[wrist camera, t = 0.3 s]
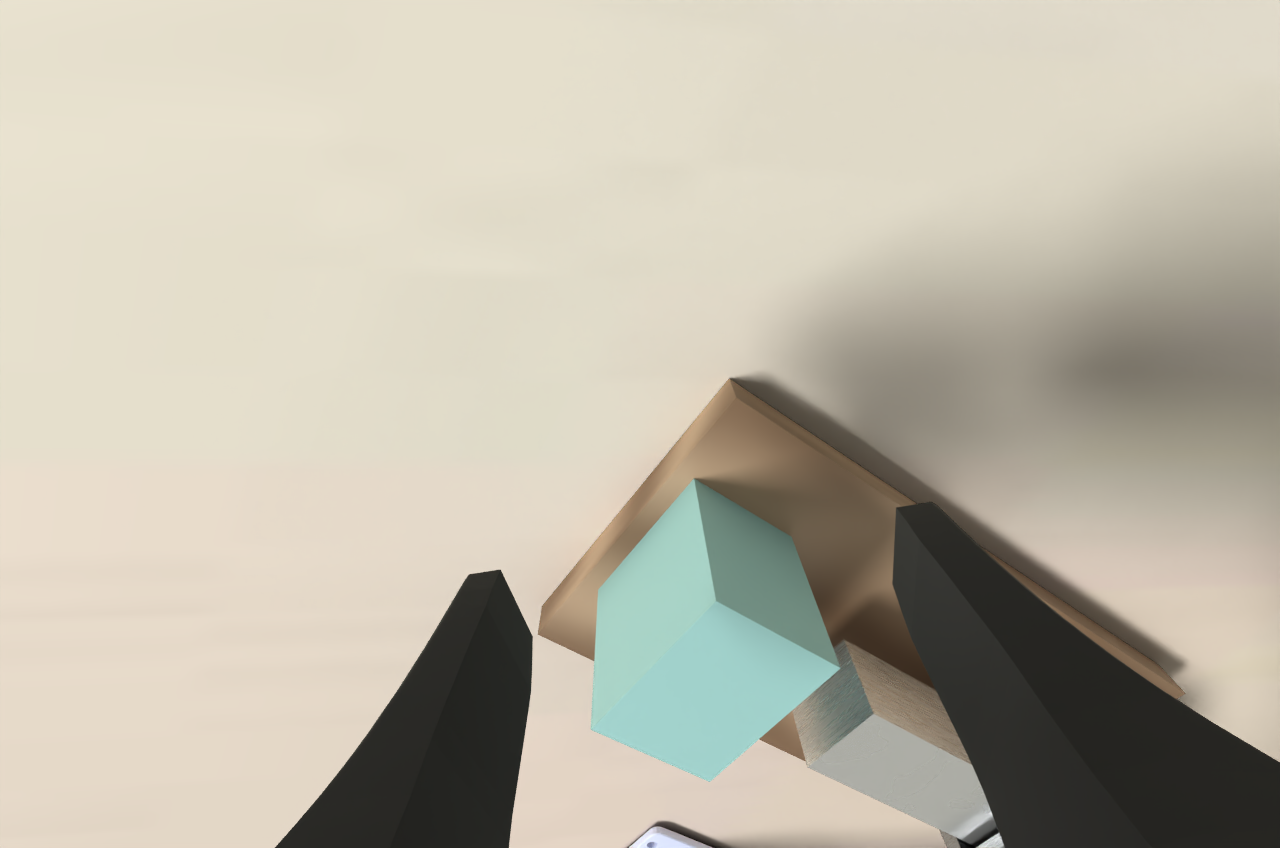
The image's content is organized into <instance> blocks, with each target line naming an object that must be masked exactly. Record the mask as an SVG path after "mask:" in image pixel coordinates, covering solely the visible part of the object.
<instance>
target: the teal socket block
mask: <svg viewBox="0 0 1280 848" xmlns="http://www.w3.org/2000/svg"><path fill="white" fill-rule="evenodd" d="M839 669H840V665H839V662H838V660H837V657H836V654H835V652H834V649H833V646H832V644H831V641H830V638H829V636H828V633H827V630H826V628H825V625H824V622H823V620H822V617H821V614H820V612H819V609H818V606H817V604H816V601H815V598H814V595H813V593H812V590H811V587H810V585H809V582H808V579H807V577H806V574H805V571H804V569H803V566H802V563H801V561H800V558H799V555H798V553H797V550H796V547H795V545H794V542H793V539H792V537H791V536H789V535H788V534H786V533H784V532H783V531H781V530H779V529H778V528H776V527H774V526H773V525H771V524H769V523H768V522H766V521H764V520H763V519H761V518H759V517H758V516H756V515H754V514H753V513H751V512H749V511H748V510H746V509H744V508H743V507H741V506H739V505H738V504H736V503H734V502H733V501H731V500H729V499H728V498H726V497H724V496H723V495H721V494H719V493H718V492H716V491H714V490H713V489H711V488H709V487H708V486H706V485H704V484H703V483H701V482H699V481H698V480H696V479H693V480H692V481H691V482H690V484H689V485H688V486H687V487H686V488H685V489H684V491H683V492H682V493H681V494H680V495H679V496H678V497H677V499H676V500H675V501H674V502H673V503H672V504H671V506H670V507H669V508H668V509H667V510H666V511H665V513H664V514H663V515H662V516H661V517H660V518H659V520H658V521H657V522H656V523H655V524H654V525H653V527H652V528H651V529H650V530H649V531H648V532H647V534H646V535H645V536H644V537H643V538H642V539H641V541H640V542H639V543H638V544H637V545H636V546H635V548H634V549H633V550H632V551H631V552H630V553H629V555H628V556H627V557H626V558H625V559H624V560H623V562H622V563H621V564H620V565H619V566H618V567H617V568H616V570H615V571H614V572H613V573H612V574H611V575H610V577H609V578H608V579H607V580H606V581H605V582H604V584H603V585H602V586H601V587H600V588H599V589H598V601H597V621H596V640H595V659H594V679H593V698H592V717H591V730H593V731H595V732H597V733H599V734H602V735H604V736H606V737H609V738H611V739H613V740H615V741H618V742H620V743H622V744H625V745H627V746H629V747H631V748H634V749H636V750H638V751H641V752H643V753H645V754H647V755H650V756H652V757H654V758H657V759H659V760H661V761H663V762H666V763H668V764H670V765H672V766H675V767H677V768H679V769H682V770H684V771H686V772H688V773H691V774H693V775H695V776H698V777H700V778H702V779H704V780H707V781H709V782H710V781H711V780H712V779H714V778H715V777H716V776H717V775H718V774H719V773H720V772H722V771H723V770H724V769H725V768H726V767H727V766H729V765H730V764H731V763H732V762H733V761H734V760H735V759H737V758H738V757H739V756H740V755H741V754H742V753H744V752H745V751H746V750H747V749H748V748H749V747H750V746H752V745H753V744H754V743H755V742H756V741H757V740H759V739H760V738H761V737H762V736H763V735H764V734H765V733H767V732H768V731H769V730H770V729H771V728H772V727H774V726H775V725H776V724H777V723H778V722H779V721H780V720H782V719H783V718H784V717H785V716H786V715H787V714H789V713H790V712H791V711H792V710H793V709H794V708H795V707H797V706H798V705H799V704H800V703H801V702H802V701H804V700H805V699H806V698H807V697H808V696H809V695H810V694H812V693H813V692H814V691H815V690H816V689H817V688H819V687H820V686H821V685H822V684H823V683H824V682H825V681H827V680H828V679H829V678H830V677H831V676H832V675H834V674H835V673H836V672H837V671H838V670H839Z"/></svg>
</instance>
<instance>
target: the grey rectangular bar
mask: <svg viewBox="0 0 1280 848" xmlns="http://www.w3.org/2000/svg"><path fill="white" fill-rule="evenodd" d="M833 649H834V652H835V654H836V657H837V660H838V662H839V665H840V669H839V670H838V671H837V672H836V673H835V674H834V675H832V676H831V677H830V678H829V679H828V680H827V681H825V682H824V683H823V684H822V685H821V686H820V687H819V688H817V689H816V690H815V691H814V692H813V693H812V694H810V695H809V696H808V697H807V698H806V699H805V700H804V701H802V702H801V703H800V704H799V705H798V706H797V707H795V708H794V709H793V710H792V712H793V715H794V719H795V723H796V726H797V730H798V734H799V738H800V741H801V745H802V749H803V752H804V756H805V760H806V763H807V767H808V768H810V769H812V770H814V771H817V772H819V773H821V774H823V775H825V776H827V777H829V778H831V779H834V780H836V781H838V782H840V783H842V784H844V785H846V786H848V787H851V788H853V789H855V790H857V791H859V792H861V793H863V794H865V795H867V796H870V797H872V798H874V799H876V800H878V801H880V802H882V803H884V804H887V805H889V806H891V807H893V808H895V809H897V810H899V811H901V812H904V813H906V814H908V815H910V816H912V817H914V818H916V819H918V820H920V821H923V822H925V823H927V824H929V825H931V826H933V827H935V828H937V829H940V830H942V831H944V832H946V833H948V834H950V835H952V836H954V837H957V838H959V839H961V840H963V841H965V842H967V843H969V844H971V845H973V846H976V847H978V846H979V845H981V844H982V843H984V842H985V841H987V840H988V839H990V838H991V837H993V836H995V835H996V834H998V833H999V831H998V828H997V826H996V823H995V820H994V818H993V815H992V813H991V810H990V807H989V805H988V802H987V799H986V797H985V794H984V791H983V789H982V787H981V784H980V782H979V780H978V777H977V775H976V773H975V771H974V768H973V766H972V764H971V761H970V759H969V757H968V755H967V753H966V751H965V749H964V747H963V745H962V743H961V741H960V739H959V737H958V735H957V733H956V730H955V728H954V726H953V724H952V722H951V720H950V718H949V716H948V714H947V712H946V710H945V708H944V706H943V704H942V702H941V700H940V697H939V695H938V693H937V691H936V690H934V689H932V688H931V687H929V686H927V685H925V684H923V683H922V682H920V681H918V680H916V679H914V678H913V677H911V676H909V675H907V674H905V673H904V672H902V671H900V670H898V669H896V668H895V667H893V666H891V665H889V664H888V663H886V662H884V661H882V660H880V659H879V658H877V657H875V656H873V655H871V654H870V653H868V652H866V651H864V650H862V649H861V648H859V647H857V646H855V645H853V644H852V643H850V642H848V641H846V640H844V639H843V640H842V641H841V642H840V643H839V644H838V645H837V646H835V647H834V648H833Z"/></svg>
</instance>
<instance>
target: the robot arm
mask: <svg viewBox="0 0 1280 848" xmlns="http://www.w3.org/2000/svg"><path fill="white" fill-rule="evenodd" d="M892 585H893V588H894V590H895V593H896V596H897V599H898V602H899V605H900V608H901V611H902V614H903V617H904V620H905V622H906V625H907V628H908V631H909V634H910V636H911V639H912V641H913V643H914V645H915V647H916V650H917V652H918V654H919V656H920V658H921V660H922V662H923V664H924V666H925V668H926V671H927V673H928V675H929V677H930V679H931V681H932V683H933V685H934V687H935V689H936V691H937V693H938V695H939V697H940V700H941V702H942V704H943V706H944V708H945V710H946V712H947V714H948V716H949V718H950V720H951V722H952V724H953V726H954V728H955V730H956V733H957V735H958V737H959V739H960V741H961V743H962V745H963V747H964V749H965V751H966V753H967V755H968V757H969V759H970V761H971V764H972V766H973V768H974V771H975V773H976V775H977V777H978V780H979V782H980V784H981V787H982V789H983V791H984V794H985V797H986V799H987V802H988V805H989V807H990V810H991V813H992V815H993V818H994V820H995V823H996V826H997V828H998V831H999V834H1000V836H1001V839H1002V842H1003V844H1004V847H1005V848H1280V762H1278V761H1276V760H1275V759H1273V758H1271V757H1270V756H1268V755H1266V754H1265V753H1263V752H1261V751H1260V750H1258V749H1256V748H1255V747H1253V746H1251V745H1250V744H1248V743H1246V742H1244V741H1243V740H1241V739H1239V738H1238V737H1236V736H1234V735H1233V734H1231V733H1229V732H1228V731H1226V730H1224V729H1223V728H1221V727H1219V726H1218V725H1216V724H1214V723H1213V722H1211V721H1209V720H1208V719H1206V718H1205V717H1203V716H1201V715H1200V714H1198V713H1197V712H1195V711H1194V710H1192V709H1191V708H1189V707H1188V706H1186V705H1185V704H1183V703H1182V702H1180V701H1178V700H1177V699H1175V698H1174V697H1172V696H1171V695H1169V694H1168V693H1166V692H1165V691H1163V690H1162V689H1160V688H1159V687H1157V686H1156V685H1154V684H1153V683H1151V682H1150V681H1149V680H1147V679H1146V678H1144V677H1143V676H1141V675H1140V674H1138V673H1137V672H1136V671H1134V670H1133V669H1131V668H1130V667H1128V666H1127V665H1126V664H1124V663H1123V662H1121V661H1120V660H1119V659H1117V658H1116V657H1114V656H1113V655H1112V654H1110V653H1109V652H1108V651H1106V650H1105V649H1104V648H1102V647H1101V646H1100V645H1098V644H1097V643H1095V642H1094V641H1093V640H1092V639H1090V638H1089V637H1088V636H1086V635H1085V634H1084V633H1082V632H1081V631H1080V630H1079V629H1077V628H1076V627H1075V626H1073V625H1072V624H1071V623H1070V622H1068V621H1067V620H1066V619H1064V618H1063V617H1062V616H1061V615H1059V614H1058V613H1057V612H1056V611H1055V610H1053V609H1052V608H1051V607H1050V606H1048V605H1047V604H1046V603H1045V602H1043V601H1042V600H1041V599H1040V598H1039V597H1038V596H1036V595H1035V594H1034V593H1033V592H1032V591H1030V590H1029V589H1028V588H1027V587H1026V586H1025V585H1023V584H1022V583H1021V582H1020V581H1019V580H1018V579H1016V578H1015V577H1014V576H1013V575H1012V574H1010V573H1009V572H1008V571H1007V570H1006V569H1005V568H1004V567H1003V566H1001V565H1000V564H999V563H998V562H997V561H996V560H995V559H994V558H992V557H991V556H990V555H989V554H988V553H987V552H986V551H985V550H984V549H983V548H982V547H980V546H979V545H978V544H977V543H976V542H975V541H974V540H973V539H972V538H971V537H970V536H969V535H968V534H966V533H965V532H964V531H963V530H962V529H961V528H960V527H959V526H958V525H957V524H956V523H955V522H954V521H953V520H952V519H951V518H950V517H949V516H948V515H947V514H946V513H945V512H943V511H942V510H941V509H940V508H939V507H938V506H937V505H936V504H934V503H933V502H928V503H921V504H915V505H909V506H902V507H896V519H895V539H894V560H893V580H892ZM532 640H533V637H532V634H531V632H530V630H529V628H528V626H527V624H526V622H525V620H524V618H523V616H522V614H521V612H520V609H519V607H518V605H517V603H516V601H515V599H514V597H513V595H512V593H511V591H510V589H509V587H508V584H507V582H506V580H505V578H504V576H503V574H502V572H501V570H495V571H489V572H482V573H476V574H470V575H468V577H467V578H466V579H465V581H464V583H463V584H462V586H461V588H460V589H459V591H458V593H457V594H456V596H455V598H454V600H453V601H452V603H451V605H450V606H449V608H448V610H447V611H446V613H445V615H444V616H443V618H442V620H441V622H440V623H439V625H438V627H437V628H436V630H435V632H434V633H433V635H432V637H431V638H430V640H429V641H428V643H427V645H426V646H425V648H424V650H423V651H422V653H421V654H420V656H419V657H418V659H417V661H416V662H415V664H414V665H413V667H412V669H411V670H410V672H409V673H408V675H407V677H406V678H405V680H404V681H403V683H402V684H401V686H400V687H399V689H398V690H397V692H396V693H395V695H394V696H393V698H392V699H391V701H390V702H389V704H388V705H387V706H386V708H385V709H384V711H383V712H382V714H381V715H380V717H379V718H378V720H377V721H376V722H375V724H374V725H373V727H372V728H371V730H370V731H369V733H368V734H367V735H366V737H365V738H364V739H363V741H362V742H361V744H360V745H359V746H358V748H357V749H356V750H355V752H354V753H353V754H352V756H351V757H350V758H349V760H348V761H347V762H346V764H345V765H344V766H343V767H342V769H341V770H340V771H339V773H338V774H337V775H336V776H335V778H334V779H333V780H332V781H331V783H330V784H329V785H328V786H327V788H326V789H325V790H324V791H323V793H322V794H321V795H320V796H319V798H318V799H317V800H316V801H315V802H314V803H313V805H312V806H311V807H310V808H309V809H308V810H307V812H306V813H305V814H304V815H303V816H302V818H301V819H300V820H299V821H298V822H297V823H296V825H295V826H294V827H293V828H292V829H291V830H290V831H289V833H288V834H287V835H286V836H285V837H284V838H283V839H282V840H281V842H280V843H279V844H278V845H277V846H276V847H275V848H509V840H510V831H511V822H512V814H513V807H514V801H515V794H516V788H517V781H518V775H519V768H520V762H521V755H522V749H523V742H524V736H525V729H526V722H527V715H528V708H529V701H530V694H531V678H532ZM629 848H713V847H710V846H708V845H705V844H703V843H700V842H698V841H695V840H693V839H690V838H688V837H685V836H683V835H680V834H678V833H675V832H673V831H671V830H668V829H666V828H663V827H653V828H651V829H650V830H649V831H647V832H646V833H645V834H644V835H643V836H642V837H641V838H639V839H638V840H637V841H636V842H635V843H634V844H632V845H631V846H630V847H629Z"/></svg>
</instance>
